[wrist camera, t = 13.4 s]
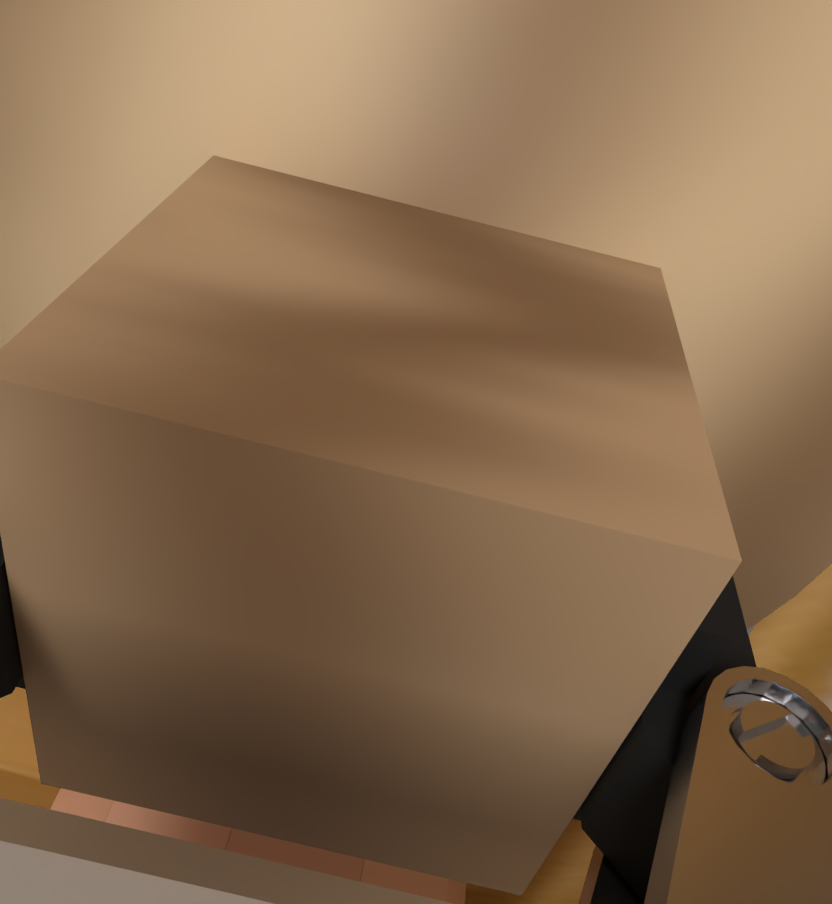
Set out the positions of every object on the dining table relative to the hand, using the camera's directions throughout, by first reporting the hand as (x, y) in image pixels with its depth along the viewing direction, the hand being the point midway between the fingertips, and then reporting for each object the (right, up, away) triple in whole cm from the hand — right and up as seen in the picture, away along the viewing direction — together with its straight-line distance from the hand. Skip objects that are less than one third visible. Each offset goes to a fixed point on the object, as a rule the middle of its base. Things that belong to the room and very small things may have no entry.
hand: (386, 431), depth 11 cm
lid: (0, +1, +1) cm, 2 cm away
